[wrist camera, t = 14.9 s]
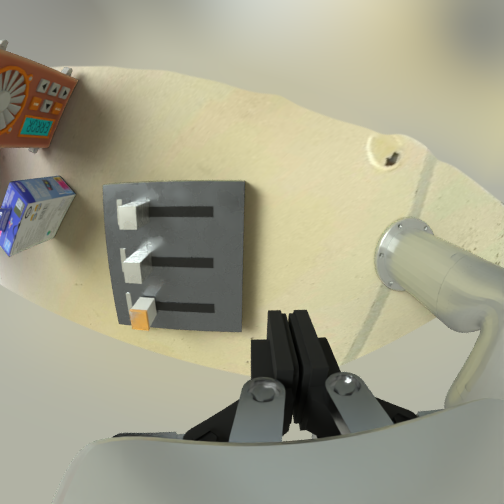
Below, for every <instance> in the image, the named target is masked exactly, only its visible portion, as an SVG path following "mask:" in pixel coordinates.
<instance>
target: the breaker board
mask: <svg viewBox="0 0 504 504" xmlns="http://www.w3.org/2000/svg"><path fill="white" fill-rule="evenodd" d="M244 193H245V181H242V180H177V181H147V182H128V183H112V184H106V185H103V206H104V222H105V234H106V244H107V253H108V262H109V269H110V276H111V283H112V289H113V295H114V301H115V306H116V311H117V316H118V321H119V324H124V325H131V319H130V314H129V310H130V309H131V308H132V307H133V306H134V304H135V303H136V302H137V300H138V299H139V298H140V297H146V298H155V305H156V313H157V315H156V317H155V319H154V320H153V322H152V324H151V326H150V327H154V328H166V329H180V330H197V331H221V332H242V278H243V233H244Z"/></svg>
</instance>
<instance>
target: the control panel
mask: <svg viewBox="0 0 504 504" xmlns="http://www.w3.org/2000/svg"><path fill="white" fill-rule="evenodd" d="M7 44H8V41H7V40H0V148H29V149H28V150H29V151H30V152H32V153H34V154H35V153H37V151H38V149H39V148H48V147H49V145H50V142H51V140H52V137H53V134H54V132H55V129H56V127H57V124H58V122H59V120H60V117H61V115H62V113H63V111H64V108H65V106H66V104H67V102H68V100H69V98H70V96H71V94H72V92H73V90H74V88H75V86H76V84H77V82H78V80H77V79H75V78H73V77H70V76H71V73H72V69H71V68H67V67H64V68H63V70H62V71H61V72H59V71H57V70H54V69H52V68H50V67H47V66H45V65H42V64H40V63H37V62H35V61H32V60H29V59H27V58H24V57H22V56H19V55H16V54H13V53H11V52H8V51H5V50H6V47H7Z"/></svg>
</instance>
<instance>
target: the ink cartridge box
mask: <svg viewBox="0 0 504 504" xmlns="http://www.w3.org/2000/svg"><path fill="white" fill-rule="evenodd" d="M74 197H75V193H74V192H73V191H72V190H71V188H70V187H69V186H68V185H67V184H66V183H65V181H64V180H63V179H62V178H61V177H60V176H53V177H44V178H35V179H27V180H20V181H12V182H10V183H9V186H8V189H7V192H6V194H5V197H4V200H3V203H2V206H1V208H0V246H1V247H2V248H3V250H4V251H5V252H6V253H7V255H8V256H9V257H10V256H12V255H14V254H17V253H19V252H21V251H23V250H26V249H28V248H30V247H33V246H35V245H37V244H40V243H42V242H45V241H47V240H49V239H52V238H54V236H55V234H56V232H57V230H58V228H59V226H60V224H61V222H62V220H63V218H64V216H65V214H66V212H67V210H68V208H69V206H70V204H71V202H72V200H73V199H74Z"/></svg>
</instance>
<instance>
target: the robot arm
mask: <svg viewBox="0 0 504 504" xmlns="http://www.w3.org/2000/svg"><path fill="white" fill-rule="evenodd" d="M374 263H375V270H376V272H377V275H378V277H379V279H380V280H381V281H382V282H383V283H384V284H385V285H386V286H387V287H388V288H390V289H392V290H396V291H405V290H406V291H407V292H409V293H410V294H411V295H412V296H413V297H414V298H416V299H417V300H418V301H419V302H420V303H421V304H422V305H424V306H425V307H426V308H427V309H428V310H429V311H430V312H432V313H433V314H434V315H435V316H436V317H437V318H438V319H439V320H441V321H442V322H443V323H444V324H445V325H446V326H448V327H449V328H450V329H452V330H454V331H457V332H462V333H463V332H464V333H465V332H474V331H478V330H481V331H480V335H479V337H478V339H477V341H476V343H475V346H474V348H473V350H472V352H471V353H470V355H469V357H468V359H467V361H466V362H465V364H464V366H463V367H462V369H461V371H460V372H459V374H458V376H457V377H456V379H455V380H454V382H453V384H452V386H451V387H450V389H449V391H448V393H447V396H446V399H445V405H444V407H445V409H440V410H431V411H421V412H418V413H417V414H416V415H415V414H414V413H413V412H411V411H409V410H407V409H404V408H402V407H399V406H396V405H393V404H391V403H389V402H386V401H384V400H381V399H379V398H376V397H374V395H373V394H372V392H371V391H370V390H369V389H368V387H367V385H366V384H365V383H364V381H363V380H362V379H361V378H360V377H359V376H357V375H355V374H352V373H348V372H341V371H340V369H339V367H338V364H337V362H336V359H335V357H334V355H333V352H332V350H331V348H330V345H329V343H328V341H327V339H326V338H325V337H323V338H318V337H317V334H316V332H315V329H314V327H313V324H312V322H311V319H310V317H309V314H308V312H307V310H294V312H293V313H289V319H288V320H287V316H286V314H282V313H281V310H271V311H268V322H267V340H251V380H249V381H247V382H246V383H245V384H244V386H243V388H242V391H241V395H240V399H239V400H237V401H236V402H234V403H233V404H231V405H230V406H228V407H226V408H225V409H223V410H222V411H220V412H218V413H217V414H215V415H214V416H212V417H210V418H209V419H207V420H205V421H203V422H202V423H200V424H198V425H197V426H195V427H193V428H191V429H190V430H189V431H187V432H186V434H177V433H176V432H159V433H119V434H117V435H115V436H113V437H112V438H106V439H101V440H97V441H94V442H92V443H89V444H88V445H86V446H85V447H83V448H82V449H81V450H80V451H79V453H78V454H77V455H76V456H75V458H74V459H73V460H72V462H71V464H70V465H69V467H68V469H67V470H66V472H65V474H64V476H63V478H62V480H61V483H60V484H59V487H58V489H57V491H56V493H55V496H54V498H53V501H52V504H504V268H503V267H501V266H498V265H496V264H494V263H492V262H490V261H487V260H485V259H483V258H481V257H479V256H477V255H475V254H473V253H471V252H469V251H467V250H465V249H463V248H461V247H458V246H456V245H454V244H452V243H450V242H447V241H445V240H443V239H441V238H438V237H436V236H434V234H433V231H432V230H431V228H430V227H429V225H427V224H426V223H425V222H424V221H422V220H420V219H417V218H413V217H406V218H402V219H399V220H397V221H395V222H394V223H392V224H391V225H390V226H389V227H388V228H387V229H386V230H385V231H384V233H383V234H382V236H381V238H380V240H379V241H378V244H377V247H376V251H375V262H374ZM292 415H293V419H294V423H296V424H297V423H299V426H300V430H307V431H309V432H311V433H312V439H308V440H297V441H283V442H282V436H283V435H284V434H286V433H287V432H288V431H289V426H290V424H291V421H292Z"/></svg>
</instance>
